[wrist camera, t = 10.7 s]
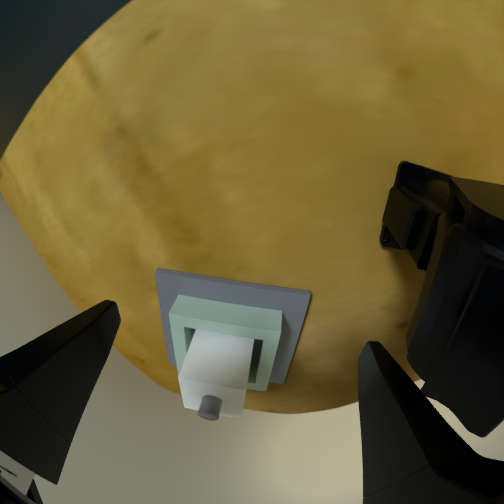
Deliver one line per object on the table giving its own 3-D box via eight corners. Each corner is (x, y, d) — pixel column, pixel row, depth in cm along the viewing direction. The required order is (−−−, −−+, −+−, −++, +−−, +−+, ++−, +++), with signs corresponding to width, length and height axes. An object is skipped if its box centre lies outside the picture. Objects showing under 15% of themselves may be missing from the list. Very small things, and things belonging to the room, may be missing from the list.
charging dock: (310, 291, 22) (312, 316, 20) (283, 380, 29) (282, 402, 26) (158, 268, 23) (143, 289, 20) (171, 360, 29) (163, 381, 27)
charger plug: (256, 324, 24) (243, 407, 17) (251, 358, 26) (239, 433, 19) (201, 315, 24) (172, 393, 17) (202, 350, 27) (180, 421, 19)
